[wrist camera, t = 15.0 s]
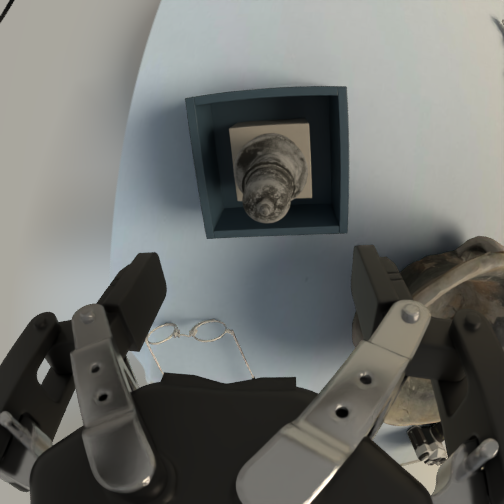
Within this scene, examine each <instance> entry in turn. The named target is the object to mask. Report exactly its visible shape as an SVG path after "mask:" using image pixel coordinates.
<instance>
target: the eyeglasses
mask: <svg viewBox="0 0 504 504" xmlns="http://www.w3.org/2000/svg"><path fill="white" fill-rule="evenodd" d="M209 322H219V323H222V324H223V325H224V326H225V327H226V325H225V324H224V323H223V322H221V321H218V320H215V319H212V320H206V321H202V322H200V323H198V324H196V325H195V326H194V327H193V328H192V329H191V331H189V336H188V335H184V334H180V330H179V329H178V327H177V326H176V324H173V323H165V324H164V325H161V326H158V327H156V328H155V329H153V330H152V331H151V332H150V333H149V334H148V335H147V337H146V339H145V342H146V344H147V346H148V348H149V350H150V352H151V354H152V356H153V358H154V360H155V362H156V363H157V365H158V367H159V369H160V371H161V372H162V369H161V367H160V365H159V363H158V362H157V360H156V358H155V356H154V354H153V352H152V350H151V348H150V346H149V344H153V345H155V344H160V343H163V342H165V341H167V340H168V339H170V338H171V337H172V336H174V338H176V336H178V337H180V335H183V336H187V337H191V336H192V337H194V338H195V339H196V340H198V341H201V342H211V341H215V340H218V339H220V338H221V337H222V336H224V334H225V333H231V335H233V337H234V339H235V341H236V343H237V346H238V348H239V350H240V352H241V354H242V356H243V358H244V361H245V363H246V365H247V367H248V369H249V371H250V373H251V370H250V368H249V365H248V363H247V361H246V359H245V356H244V354H243V352H242V350H241V348H240V345H239V343H238V341H237V338H236V336H235V334H234V332H233V330H230V329H227V328H226V329H225V331H224V333H223V334H222V335H221V336H219V337H217V338H215V339H212V340H200V339H198V338H196V337H195V334H196V333H197V331H198V330H197V328H198V327H199V326H200V325H202V324H205V323H209ZM168 325H169V326H173V327H174V332H173V333H172V334H171V335H170V336H169V337H168V338H166V339H165V340H163V341H160V342H157V343H151V342H149V341H148V338H149V336H150V334H151V333H152V332H154V331H155V330H156V329H158V328H160V327H163V326H168ZM175 326H176V328H175ZM147 341H148V342H147ZM148 343H149V344H148ZM162 374H163V372H162ZM251 375H252V373H251ZM252 379H255V377H254V376H253V375H252Z"/></svg>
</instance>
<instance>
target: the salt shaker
mask: <svg viewBox="0 0 504 504" xmlns="http://www.w3.org/2000/svg"><path fill="white" fill-rule="evenodd" d="M307 177H308V166H307V162H306V159H305V156H304V155H303V153H302V152H301V150H300V149H299V147H297V146H296V145H295V143H294V142H293V141H291V140H290V139H289V138H288V137H285V136H283V135H281V134H275V133H268V134H263V135H260V136H258V137H256V138H255V139H253V140H251V141H250V142H248V143H247V144H246V145H244V146H243V148H242V149H241V150H240V151H239V153H238V155H237V157H236V160H235V163H234V178H235V182H236V184H237V186H238V188H239V190H240V191H241V192H242V193H243V198H242V202H243V207H244V209H245V211H246V213H247V214H248V215H249V217H251V218H252V219H253V220H255V221H257V222H260V223H273V222H277V221H279V220H280V219H282V218H283V217H284V216H285V215H286V214H287V212H288V210H289V208H290V204H291V201H292V200H293V199H295V198H296V197H297V196H298V195H299V194H300V193H301V192H302V190H303V188H304V186H305V184H306V182H307Z"/></svg>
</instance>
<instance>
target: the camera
mask: <svg viewBox="0 0 504 504" xmlns="http://www.w3.org/2000/svg"><path fill="white" fill-rule="evenodd" d="M407 434H408V436H409V438H410V441H411V443H412V445H413V447H414V450H415V452H416V455H417V457H418V459H419V460H420V461H424V463H425V464H428V465H433V464H436V465H440V464H442V463H443V462H444V461H445V460H446V458H447V455H446V453H445V449H444V447H443V445H442V443H441V442H443V441H444V440H445V439H444V434H443V429H442V425H441V421H440V422H439V423H438V424H436V425H434V426H433V427H432V428H430V427H429V428H421V427H419V426H417V425H415V426H413V427H412V428H411V429H409V430H408V431H407Z"/></svg>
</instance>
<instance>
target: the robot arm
mask: <svg viewBox="0 0 504 504" xmlns="http://www.w3.org/2000/svg"><path fill="white" fill-rule="evenodd" d="M14 1H15V0H9V2H8V4H7V5H6V7H5V9H4V10H3V12H2V14H1V15H0V23H1V22H2V20H3V18H4V17H5V15H6V14H7V12H8V11H9V9H10V7H11V6H12V4H13V2H14ZM351 291H352V296H353V300H354V304H355V307H356V311H357V315H358V319H359V323H360V327H361V331H362V335H363V340H362V341H361V342H360V343H359V344H358V345H357V347H356V348H355V349H354V350H353V352H352V353H351V354H350V356H349V357H348V358H347V360H346V361H345V362H344V363H343V365H342V366H341V367H340V368H339V370H338V371H337V372H336V373H335V375H334V376H333V377H332V378H331V380H330V381H329V382H328V383H327V384H326V386H325V387H324V388H323V389H322V390H321V392H320V393H319V394H318V393H315V392H313V391H310V390H307V389H304V388H299V387H296V377H276V378H257V379H251V380H246V381H240V382H235V383H228V384H225V383H220V382H217V381H213V380H209V379H206V378H203V377H199V376H196V375H187V374H175V373H164V374H163V377H162V380H161V382H157V383H152V384H149V385H145V386H143V387H141V388H140V387H139V385H138V382H137V380H136V377H135V375H134V372H133V370H132V367H131V365H130V362H129V360H128V358H127V356H126V354H127V352H128V351H137V352H140V350H141V347H142V345H143V343H144V341H145V339H146V337H147V335H148V332H149V330H150V328H151V326H152V324H153V322H154V320H155V318H156V316H157V313H158V311H159V309H160V307H161V305H162V303H163V301H164V299H165V297H166V292H167V287H166V281H165V278H164V274H163V271H162V267H161V263H160V259H159V256H158V254H157V253H155V252H151V253H139V254H138V255H137V256H136V257H135V259H134V260H133V261H132V263H131V264H130V265H127V266H126V267H125V268H123V269H122V270H121V271H120V272H119V273H118V274H117V276H116V277H115V278H114V280H113V281H112V282H111V284H110V286H108V288H107V289H106V291H105V292H104V294H103V295H102V296H101V298H100V299H99V300H98V302H97V303H96V304H89V305H86V306H84V307H82V308H80V309H79V310H78V311H76V312H75V314H74V315H73V317H72V320H68V321H63V322H58V320H57V318H56V316H55V315H54V314H53V313H51V312H44V313H41V314H39V315H37V316H36V317H34V318H33V319H32V320H31V321H30V322H29V324H28V325H27V327H26V328H25V329H24V331H23V333H22V334H21V335H20V337H19V338H18V339H17V341H16V342H15V344H14V345H13V347H12V348H11V350H10V351H9V353H8V354H7V356H6V358H5V359H4V360H3V362H2V364H1V365H0V479H2V480H3V481H5V482H8V483H9V484H11V485H12V486H14V487H15V488H17V489H18V490H20V491H23V492H28V491H30V500H31V504H504V350H503V348H502V346H501V344H500V342H499V340H498V338H497V336H496V334H495V332H494V331H493V329H492V327H491V325H490V323H489V321H488V320H487V318H486V317H485V316H484V315H483V314H482V313H480V312H478V311H476V310H473V309H461V310H459V311H457V312H456V313H455V315H454V317H453V320H449V319H442V318H436V317H432V316H431V314H430V311H429V310H428V308H427V307H426V306H424V305H423V304H421V303H419V302H417V301H414V300H413V298H412V296H411V294H410V292H409V290H408V288H407V286H406V284H405V282H404V280H403V278H402V276H401V274H400V273H399V270H398V269H397V267H396V265H395V263H393V262H392V261H391V260H390V259H388V258H387V257H379V255H378V253H377V251H376V249H375V247H374V245H357V246H355V247H354V253H353V264H352V275H351ZM44 358H45V359H46V360H47V362H48V363H49V365H50V366H51V368H50V369H49V371H48V373H47V375H46V377H45V379H44V380H43V382H42V384H41V385H40V384H39V382H38V380H37V371H38V368H39V366H40V365H41V363H42V361H43V360H44ZM408 377H416V378H423V379H430V380H431V384H432V387H433V391H434V395H435V399H436V403H437V407H438V411H439V416H440V420H441V425H442V429H443V434H444V439H445V444H446V450H447V455H448V458H447V459H446V460H445V461H444V462H443V463H442V465H441V466H440V468H439V469H438V472H437V477H436V487H435V490H434V492H433V494H432V495H431V496H430V494H429V492H428V491H427V489H426V488H425V487H424V486H423V485H422V484H421V483H420V482H419V481H417V480H416V479H415V478H414V477H413V476H412V475H411V474H410V473H408V472H407V471H406V470H405V469H404V468H403V467H402V466H400V465H399V464H398V463H397V462H396V461H395V460H394V459H392V458H391V457H390V456H389V455H388V454H387V453H386V452H385V451H384V450H382V449H381V448H380V447H379V446H378V445H377V444H376V443H375V442H374V441H372V440H373V438H374V437H375V435H376V434H377V432H378V430H379V429H380V427H381V425H382V424H383V422H384V420H385V418H386V416H387V415H388V413H389V411H390V410H391V408H392V406H393V404H394V403H395V401H396V399H397V397H398V396H399V394H400V392H401V390H402V388H403V387H404V385H405V383H406V381H407V379H408ZM75 388H76V392H77V398H78V403H79V407H80V412H81V416H82V420H83V426H82V427H80V428H79V429H77V430H76V431H74V432H73V433H71V434H70V435H68V436H67V437H66V438H64V439H62V440H61V441H59V442H58V443H56V444H55V445H52V442H53V439H54V437H55V434H56V432H57V429H58V427H59V425H60V422H61V420H62V417H63V415H64V413H65V411H66V408H67V406H68V404H69V401H70V399H71V397H72V395H73V392H74V390H75Z"/></svg>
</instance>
